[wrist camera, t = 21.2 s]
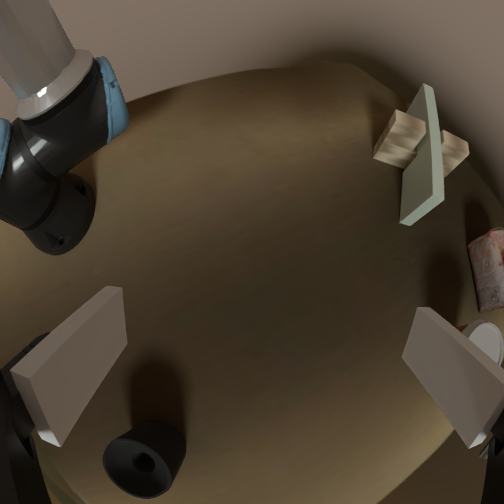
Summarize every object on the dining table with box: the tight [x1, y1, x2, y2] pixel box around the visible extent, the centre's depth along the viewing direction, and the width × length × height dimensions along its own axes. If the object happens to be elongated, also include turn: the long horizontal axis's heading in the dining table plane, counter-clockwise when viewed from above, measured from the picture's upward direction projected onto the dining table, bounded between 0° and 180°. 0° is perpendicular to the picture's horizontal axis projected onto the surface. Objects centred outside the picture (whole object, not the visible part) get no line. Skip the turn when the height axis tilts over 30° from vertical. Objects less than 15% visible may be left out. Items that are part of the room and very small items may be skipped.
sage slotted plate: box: [399, 83, 444, 226], centre depth 41 cm, size 24×2×11 cm, turn 164°
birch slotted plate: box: [373, 110, 469, 178], centre depth 41 cm, size 14×2×11 cm, turn 74°
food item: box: [467, 227, 504, 313], centre depth 36 cm, size 14×8×10 cm, turn 7°
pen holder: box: [103, 421, 186, 499], centre depth 30 cm, size 9×9×10 cm
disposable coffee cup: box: [456, 319, 503, 366], centre depth 32 cm, size 10×10×12 cm
